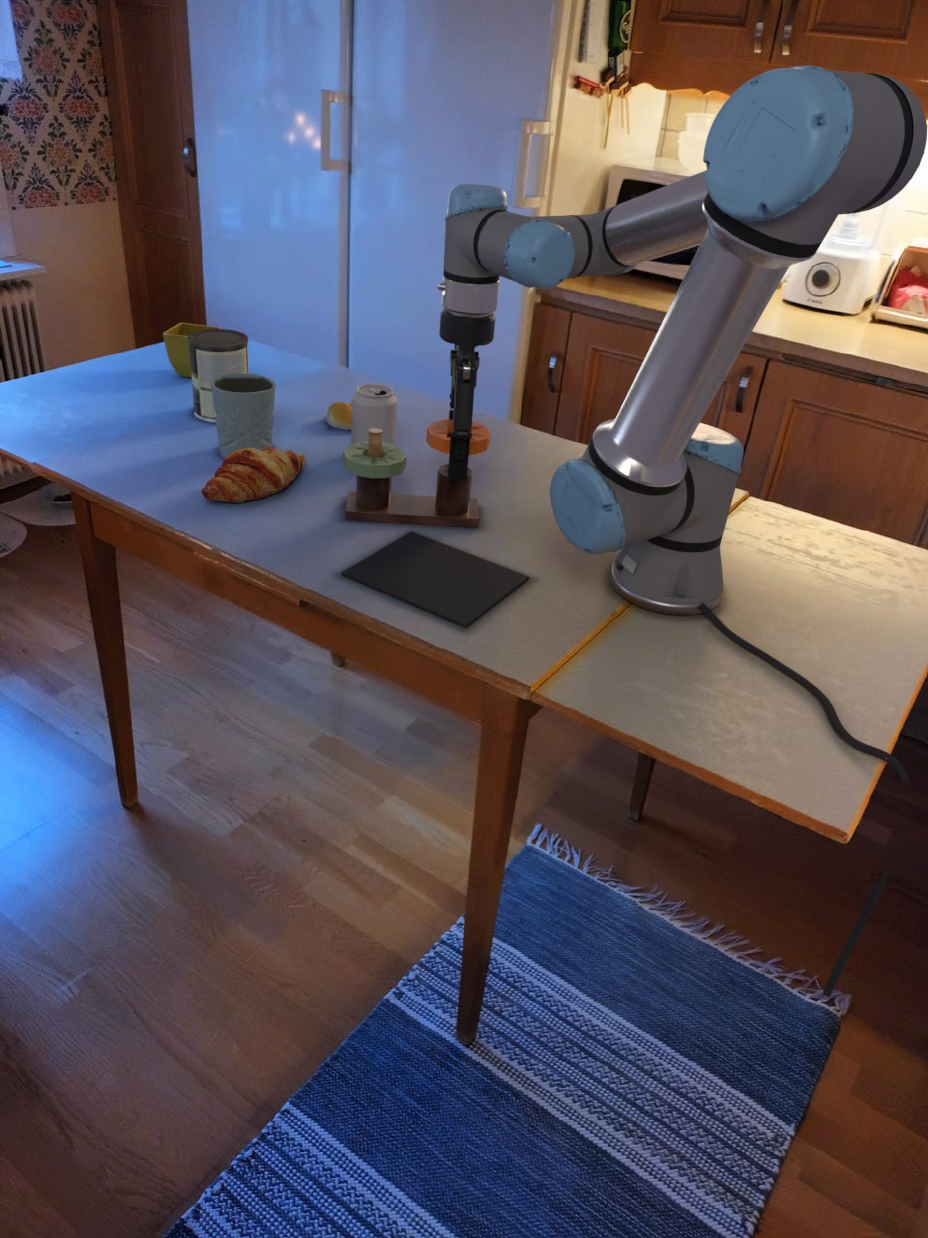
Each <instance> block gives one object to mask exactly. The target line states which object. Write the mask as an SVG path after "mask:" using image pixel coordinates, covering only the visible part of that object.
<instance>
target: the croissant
mask: <svg viewBox="0 0 928 1238" xmlns="http://www.w3.org/2000/svg"><path fill="white" fill-rule="evenodd" d="M306 464H307V457H306V454H305V453H304V454H303V453H301V454H299V453H297V452H295V451H293V450H291V449H288V450H285V451H283V450H279V449H278V448H276V447H273V446H271V447H266V448H264V449H263V450H262V451H261V450H259V449H256V448H244V449H239V450H236V451H234V452H232V454H230V455H228V456H227V457H226V458H223V460H222V463H221V466H220V467H218V468H217V469H216V470H215V472H214V475H213V477H211V478H210V479H209V480H208V481H206V484H205V486H204V487H203V488H201V494H202V496H203V497H204V498H205V499H206V500H210V501H214V502H227V503H232V504H233V503H237V504H238V503H240V504H242V503H244V502H248V501H254V500H261V499H264V498H267V497H268V496H271V495H274V494H277V493H280V492H281V491H283V490H284V489H286V488H287V487H288V486H289V485H290V483H291V482H293V481H294V480H295V479H296V478H297V476H298V474H299V473H301V472H302V471H303V470H304V469H305V467H306Z"/></svg>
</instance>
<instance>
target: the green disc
mask: <svg viewBox="0 0 928 1238" xmlns="http://www.w3.org/2000/svg"><path fill="white" fill-rule="evenodd" d="M342 465H343V467H344V469H345V471H347V472H349V473H351V474H353V475H355V476H356V477H357V476H362V477H367V478H389V477H395V476H398V475H401V474H402V473H403V472H404V471H405V469H406V468H407V454H406V452H405V451H404V448H402V447H399V446H397V445H396V444H395V445H393V444H389V443H383V442H382V458H370V457H368V442H359V443H355V444H352V445H351V444H349V445H347V446H346V447H345V448H344V450H343V451H342Z"/></svg>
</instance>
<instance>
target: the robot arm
mask: <svg viewBox="0 0 928 1238" xmlns="http://www.w3.org/2000/svg"><path fill="white" fill-rule="evenodd" d="M927 139H928V123H927V117H926V114H925V112H924V109H923V106H922V102H921V101H920V100H919V98H918V97H917V96H916V94H915V93H914V91H913V90H912V89H910V88H909V86H908V85H906V84H905V83H903V82H901V81H899V80H898V79H896V78H894V77H892V76H888V75H886V74H880V73H879V74H878V73H868V72H867V73H863V72H852V71H843V70H834V69H825V68H823V67H821V66H818V65H796V66H791V67H781V68H774V69H770V70H767V71H765V72H762V73H759V74H758V75H756V76H754V77H751V78H750V79H749V80H747V81H745V82H744V83H743V84H742V85H740V86H739V87H738V88H737V89H736V90H735V91H734V92H733V93H732V94H731V95H730V96H729V97H728V98H727V99H726V101H725V102H724V103H723V104H722V106H721V108H720V109H719V110H718V112H717V114H716V116H715V117H714V119H713V121H712V124H711V126H710V128H709V131H708V134H707V137H706V141H705V144H704V150H703V157H702V161H703V163H704V164H705V166H706V170H703V171H701V172H697V173H696V174H693V175H690V176H688V177H685V178H683V179H681V180H678V181H675V182H672V183H670V184H667V185H665V186H662V187H660V188H657V189H654V190H652V191H649V192H647V193H643V194H641V195H639V196H636V197H634V198H631V199H629V200H626V201H624V202H621V203H619V204H617V205H614V206H611V207H609V208H606V209H603V210H601V211H598V212H594V213H586V214H566V215H542V216H530V215H523V214H520V213H516V212H511V211H508V205H507V203H508V202H507V199H508V196H507V193H506V192H505V190H504V189H502V188H500V187H497V186H493V185H485V184H476V183H463V184H456V185H455V186H453V187H452V188H451V189H450V190H449V193H448V201H447V210H446V216H445V219H444V221H445V232H444V253H443V268H442V269H443V273H442V275H443V277H442V281H443V282H438V284H437V289H438V291H441V292H442V293H441V306H442V307H443V309H442V311H440V313H439V315H440V316H439V331H438V332H439V333H438V335H439V337H440V339H441V340H442V341H444V342H446V343H447V344H451V345H452V344H453V345H454V349H450V352H449V362H450V365H449V367H450V377H451V381H450V383H451V384H450V394H449V399H450V401H449V408H450V409H449V411H448V412H449V413H448V420H450V419H453V431H452V432H451V433H450V432H447V437H451V441H450V454H448V464H449V468H448V479H450V480H467V470H468V468H469V457H470V455H469V447H470V439H471V436H472V432H471V429H472V422H473V414H474V399H475V389H476V387H477V383H478V382H477V381H478V370H479V369H480V359H481V358H480V356H479V353H480V352H479V351H476V350H475V349H476V348H477V347H479V346H480V347H481V346H482V347H484V346H487V345H489V344H491V343H492V342H493V341H494V338H495V327H496V316H495V314H494V313H495V312H496V311H497V309H498V303H499V301H498V299H499V291H500V290H499V289H500V277H502V278H504V279H506V280H509V281H511V282H515V283H517V284H518V285H520V286H521V285H522V286H523V287H525V288H529V289H531V288H533V289H534V288H535V289H538V290H543V291H547V290H553V289H555V288H557V287H558V286H559V285H560V284H561V283H563V282H565V280H570V279H576V278H584V277H585V278H586V277H598V276H599V277H600V276H604V277H611V276H617V275H620V274H624V273H628V272H631V271H632V270H634V269H635V268H636V267H637V266H638V265H639V264H643V263H645V262H649V261H651V260H656V259H658V258H662V257H665V256H668V255H672V254H675V253H678V252H682V251H684V250H689V249H691V248H696V247H697V250H696V252H695V254H694V256H693V258H692V260H691V262H690V263H689V266H688V268H687V271H686V273H685V274H684V277H683V279H682V281H681V283H680V285H679V287H678V289H677V291H676V293H675V295H674V297H673V299H672V301H671V303H670V306H669V308H668V310H667V311H666V314H665V315H664V318H663V319H662V322H661V324H660V326H659V328H658V330H657V332H656V334H655V336H654V338H653V341H652V342H651V345H650V346H649V348H648V351H647V352H646V355H645V357H644V359H643V361H642V363H641V365H640V367H639V369H638V371H637V374H636V375H635V377H634V380H633V381H632V383H631V386H630V387H629V390H628V392H627V394H626V396H625V398H624V400H623V402H622V404H621V406H620V408H619V410H618V413H616V414H617V415H616V417H614V418H612V419H608V420H605V421H603V422H601V423H600V424H599V425H597V427H596V429H595V430H594V431H593V434H592V436H591V438H590V440H589V442H588V444H587V446H586V449H585V450H584V453H583V454H582V455H581V456H580V457H579V458H576V457H575V458H570V459H568V460H567V461H565V462H564V463H562V464H561V465H559V466H558V467H557V468H556V470H555V471H554V472H553V475H552V478H551V481H550V485H549V486H550V487H549V500H550V506H551V509H552V511H553V517H554V520H555V522H556V524H557V526H558V528H559V530H560V532H561V533H562V534H563V536H564V537H565V539H566V540H567V541H568V542H569V543H570V544H571V545H572V546H573V547H575V548H576V549H578V550H579V551H581V552H583V553H586V554H589V555H601V554H606V553H609V552H610V553H615V552H618V551H619V552H618V554H617V556H616V557H615V559H614V562H613V563H612V567H611V572H610V584H611V586H612V588H613V590H615V592H616V593H617V594H618V595H619V596H621V597H622V598H623V599H624V600H625V601H627V602H630V603H631V604H632V605H635V606H637V607H638V608H639V607H640V608H642V609H644V610H646V611H647V610H648V611H650V612H654V613H658V614H661V615H662V614H663V615H669V616H695V615H696V616H697V615H701V614H704V615H705V617H707V618H708V619H709V620H710V622H711V623H712V624H713V625H714V626H715V628H717V629H718V631H720V632H721V633H722V634H723V635H724V636H725V637H727V639H729V640H731V641H732V642H733V643H734V644H736V645H738V646H739V647H741V648H742V649H743V650H746V651H747V652H748V653H750V654H753V655H754V656H756V657H757V658H759V659H761V660H762V661H764V662H765V663H767V664H769V666H771V667H773V668H774V669H776V670H778V671H779V672H781V673H782V674H783V675H785V676H787V677H789V678H790V679H791V680H793V681H794V682H796V683H797V684H799V685H800V686H802V687H803V688H805V689H806V690H807V691H808V692H809V693H810V694H812V696H814V697H815V698H816V700H817V701H818V702H819V703H820V705H821V706H822V707H823V709H824V711H825V714H827V718H828V719H829V722H830V724H831V726H832V728H833V730H834V731H835V732H836V734H837V735H838V736H839V737H840V739H842V740H843V741H844V742H845V743H846V744H847V745H849V746H850V747H852V748H853V749H855V750H857V751H859V752H861V753H864V754H867V755H869V756H871V757H875V758H876V759H877V758H878V759H880V760H881V761H883V762H885V763H887V764H888V765H889V766H890V768H892V769H893V770H894V772H895V773H896V775H897V777H898V779H899V781H901V782H902V783H904V784H910V783H911V780H910V777H909V775H908V772H907V770H906V769H905V767H904V765H903V764H902V763H901V762H900V761H899V760H898V758H896V757H895V756H893V755H892V754H891V753H889V752H887V751H885V750H883V749H880V748H878V747H875V746H873V745H871V744H867V743H864V742H862V741H860V740H858V739H857V738H855V737H854V736H852V734H850V733H849V732H848V730H846V728H845V727H844V725H843V723H841V720H840V718H839V716H838V714H837V712H836V709H835V707H834V705H833V704H832V702H831V701H830V699H829V698H828V697H827V696H826V695H825V693H824V692H822V690H820V689H819V688H818V687H817V686H816V685H815V684H813V683H812V682H811V681H810V680H808V679H807V678H805V677H804V676H802V675H801V674H799V673H798V672H796V671H795V670H793V669H792V668H790V667H788V666H787V665H785V664H784V663H782V662H781V661H779V660H778V659H776V658H775V657H773V656H772V655H770V654H769V653H767V652H765V651H764V650H762V649H761V648H758V647H757V646H756V645H753V644H752V643H750V642H748V641H747V640H745V639H743V638H742V637H740V636H739V635H737V634H736V633H735V632H733V631H732V630H731V629H730V628H729V627H727V626H726V625H725V623H724V622H722V620H721V619H720V618H719V617H718V616H717V615H716V613H714V612H713V609H715V608H716V607H717V606H718V605H719V604H720V601H721V598H722V595H723V591H724V577H723V574H724V573H723V564H722V554H721V544H722V540H723V536H724V532H725V530H726V525H727V521H728V517H729V514H730V510H731V508H732V507H731V506H732V503H733V499H734V495H735V492H736V488H737V485H738V481H739V477H740V474H742V469H741V468H742V463H743V458H744V446H743V444H742V443H741V441H740V440H739V439H738V438H737V437H735V436H734V435H732V434H731V433H729V432H727V431H725V430H723V429H721V428H718V427H716V426H712V425H709V424H706V423H703V422H702V420H703V418H704V416H705V414H706V412H707V411H708V409H709V408H710V406H711V404H712V402H713V400H714V399H715V397H716V395H717V394H718V392H719V390H720V388H721V386H722V385H723V383H724V382H725V379H726V378H727V376H728V374H729V372H730V370H731V369H732V367H733V366H734V364H735V362H736V360H737V358H738V357H739V355H740V353H741V352H742V350H743V348H744V346H745V344H746V343H747V341H748V340H749V338H750V337H751V334H752V333H753V330H754V329H755V328H756V325H757V323H758V322H759V320H760V319H761V317H762V315H763V313H764V311H765V310H766V308H767V306H768V304H769V303H770V301H771V299H772V297H773V296H774V294H775V292H776V290H777V289H778V288H779V285H780V284H781V282H782V280H783V278H784V276H785V275H786V273H787V271H788V270H789V268H790V267H791V266H794V265H796V264H799V263H804V262H806V261H809V260H811V259H812V258H813V257H814V256H815V255H816V254H817V252H818V250H819V248H820V247H821V245H822V243H823V242H824V240H825V238H826V236H827V235H828V233H829V231H830V230H831V228H832V226H833V225H834V223H835V221H836V220H837V218H838V217H839V216H840V215H851V214H857V213H862V212H867V211H870V210H874V209H876V208H878V207H881V206H882V205H884V204H885V203H887V202H888V201H890V200H892V199H893V198H895V197H896V196H897V195H899V194H900V193H901V192H902V191H903V190H904V188H906V186H907V185H908V184H909V182H911V180H912V179H913V178H914V175H915V174H916V172H917V171H918V169H919V167H920V165H921V163H922V161H923V160H922V159H923V157H924V154H925V151H926V146H927ZM464 429H467V430H464ZM886 758H887V759H886ZM891 867H892V864H890V865H889V866H888V868H887V869H886V871H885V872H884V873H883V874H882V876H881V877H880V878H879V880H878V881H877V882H876V884H875V885H874V887H873V888H872V889H871V891H870V892H869V895H868V896H867V900H866V901H865V904H864V905H863V908H862V910H861V912H860V915H859V917H858V918H857V920H856V922H855V924H854V927H853V928H852V930H851V932H850V934H849V936H848V938H847V940H846V942H845V944H844V946H843V948H842V950H841V952H840V953H839V956H838V958H837V960H836V962H835V964H834V966H833V968H832V970H831V972H830V975H829V976H828V979H827V981H826V984H825V986H824V988H823V991H822V994H823V995H824V996H825V997H828V998H830V997H831V996H832V994H833V991H834V989H835V987H836V985H837V982H838V980H839V978H840V976H841V974H842V972H843V970H844V968H845V966H846V963H847V962H848V960H849V958H850V956H851V954H852V952H853V950H854V948H855V946H856V944H857V942H858V941H859V939H860V937H861V935H862V933H863V932H864V930H865V927H866V925H867V923H868V921H869V919H870V917H871V915H872V913H873V911H874V909H875V907H876V905H877V902H878V900H879V898H880V895H881V893H882V891H883V888H884V886H885V883H886V880H887V879H888V876H889V873H890V869H891Z"/></svg>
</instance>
